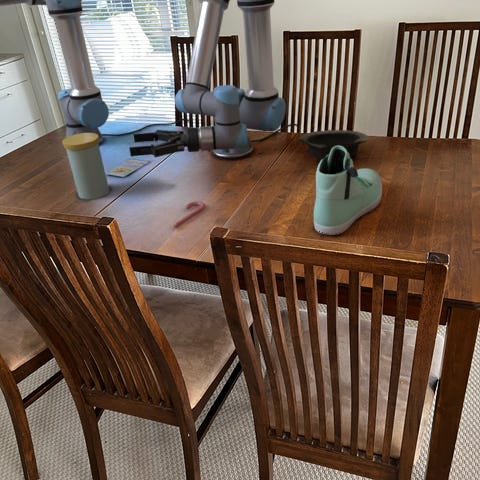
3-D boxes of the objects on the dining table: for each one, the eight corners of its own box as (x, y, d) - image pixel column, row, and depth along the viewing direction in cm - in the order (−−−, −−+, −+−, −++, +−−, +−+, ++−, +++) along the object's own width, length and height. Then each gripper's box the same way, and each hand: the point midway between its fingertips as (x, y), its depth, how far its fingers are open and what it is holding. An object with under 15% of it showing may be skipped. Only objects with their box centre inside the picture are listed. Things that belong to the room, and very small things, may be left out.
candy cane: (161, 224, 139) (160, 219, 138) (194, 202, 149) (194, 198, 148) (177, 229, 135) (176, 224, 135) (209, 207, 145) (209, 202, 145)
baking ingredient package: (104, 172, 173) (130, 158, 184) (104, 174, 173) (130, 159, 184) (124, 176, 169) (148, 161, 181) (124, 177, 169) (149, 162, 181)
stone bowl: (326, 174, 159) (325, 147, 154) (286, 157, 179) (284, 133, 175) (384, 156, 168) (385, 130, 163) (340, 142, 188) (339, 118, 184)
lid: (106, 141, 152) (105, 136, 151) (75, 152, 145) (73, 147, 144) (87, 135, 159) (86, 130, 158) (56, 145, 152) (55, 140, 151)
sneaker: (389, 187, 148) (396, 123, 138) (356, 242, 123) (361, 168, 112) (346, 181, 154) (350, 119, 144) (306, 232, 129) (307, 161, 118)
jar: (115, 190, 161) (103, 138, 151) (89, 202, 155) (74, 148, 145) (98, 183, 167) (86, 132, 157) (72, 194, 161) (58, 141, 151)
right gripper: (201, 164, 144) (130, 170, 143) (198, 139, 166) (137, 144, 164) (199, 139, 141) (126, 145, 139) (196, 117, 162) (133, 122, 161)
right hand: (132, 144), depth 152 cm, fingers open, 13 cm apart
